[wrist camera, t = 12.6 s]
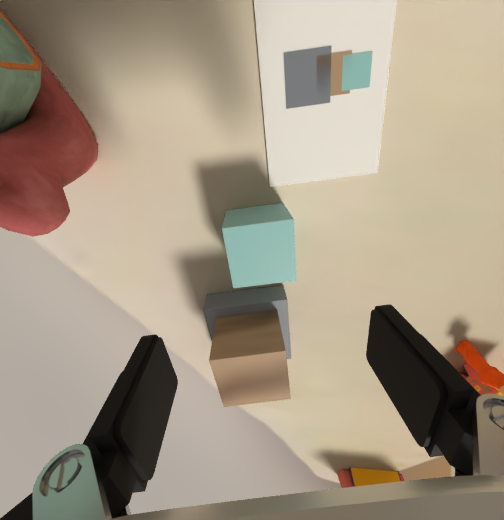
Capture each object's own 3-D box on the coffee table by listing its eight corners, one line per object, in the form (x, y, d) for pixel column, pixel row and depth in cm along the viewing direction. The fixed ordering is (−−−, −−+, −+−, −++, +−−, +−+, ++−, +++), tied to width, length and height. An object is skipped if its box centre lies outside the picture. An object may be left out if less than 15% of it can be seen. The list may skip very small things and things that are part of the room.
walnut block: (215, 317, 23) (209, 360, 18) (277, 309, 23) (285, 350, 18) (227, 360, 25) (223, 407, 21) (282, 353, 25) (290, 398, 21)
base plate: (206, 294, 24) (203, 309, 22) (283, 285, 24) (287, 299, 22) (220, 349, 28) (219, 367, 26) (287, 341, 28) (291, 358, 26)
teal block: (226, 209, 21) (221, 228, 16) (282, 202, 21) (293, 219, 16) (235, 260, 23) (233, 288, 18) (285, 253, 23) (296, 280, 18)
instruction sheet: (252, -13, 14) (252, -15, 14) (399, -36, 14) (401, -39, 14) (269, 186, 20) (270, 187, 20) (376, 172, 20) (377, 172, 19)
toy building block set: (337, 472, 44) (374, 607, 31) (452, 336, 29) (614, 489, 16) (396, 478, 45) (454, 608, 33) (534, 352, 30) (740, 502, 18)
